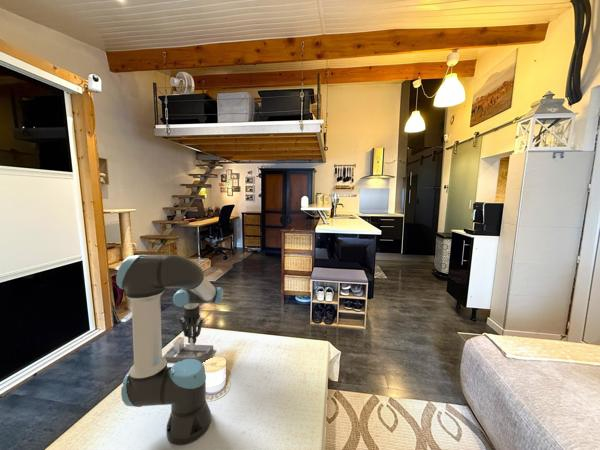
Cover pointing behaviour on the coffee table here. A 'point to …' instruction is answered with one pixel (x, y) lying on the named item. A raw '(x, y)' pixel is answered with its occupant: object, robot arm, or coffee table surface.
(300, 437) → the coffee table surface
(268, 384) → the coffee table surface
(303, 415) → the coffee table surface
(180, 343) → the fader
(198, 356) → the console
